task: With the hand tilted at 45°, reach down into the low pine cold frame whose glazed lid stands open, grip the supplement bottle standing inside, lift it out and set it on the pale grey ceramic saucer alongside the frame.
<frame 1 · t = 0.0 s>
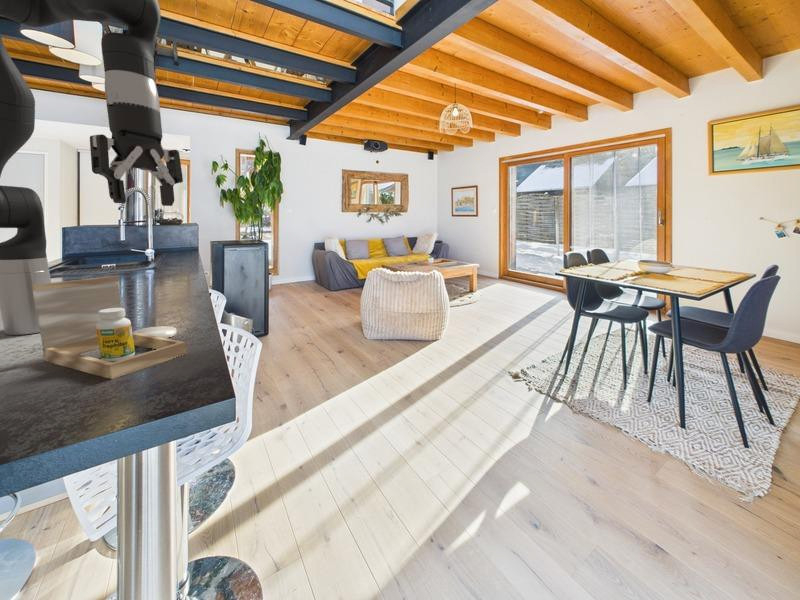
hand: (144, 204, 67), 29 cm above the countertop, tool pointing down, fingers open, 8 cm apart
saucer: (154, 336, 86), on the countertop
supplement bottle: (118, 358, 73), resting in cold frame
cold frame: (118, 357, 72), on the countertop
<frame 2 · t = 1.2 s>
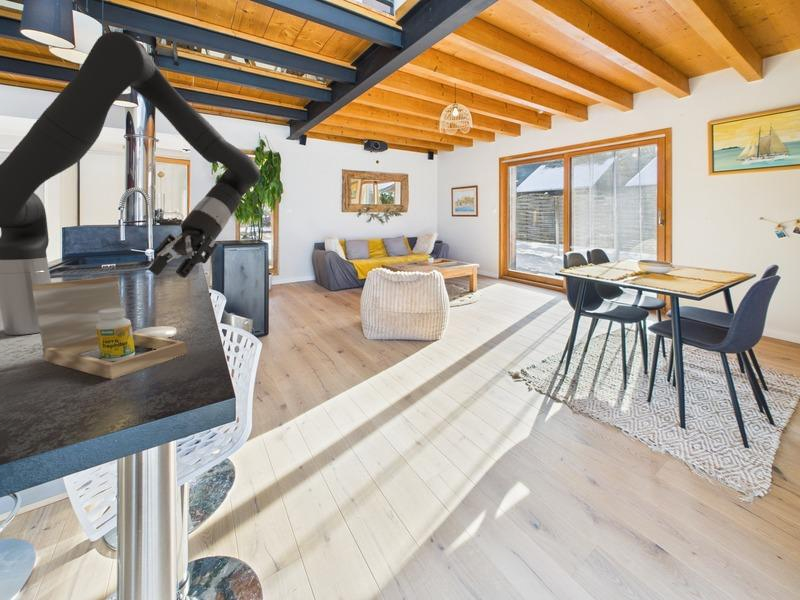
hand: (166, 274, 80), 15 cm above the countertop, tool tilted 45°, fingers open, 8 cm apart
nothing on the countertop moved.
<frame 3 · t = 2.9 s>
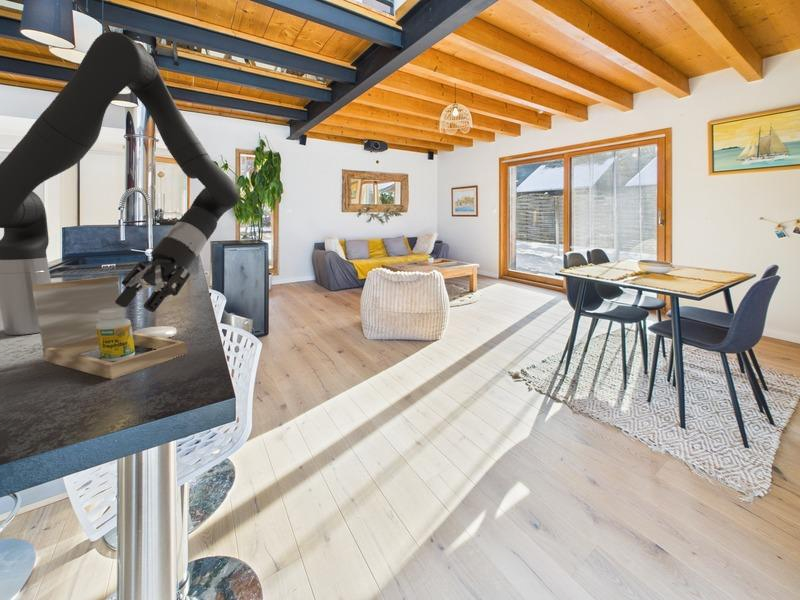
hand: (133, 307, 74), 9 cm above the countertop, tool tilted 45°, fingers open, 8 cm apart
nothing on the countertop moved.
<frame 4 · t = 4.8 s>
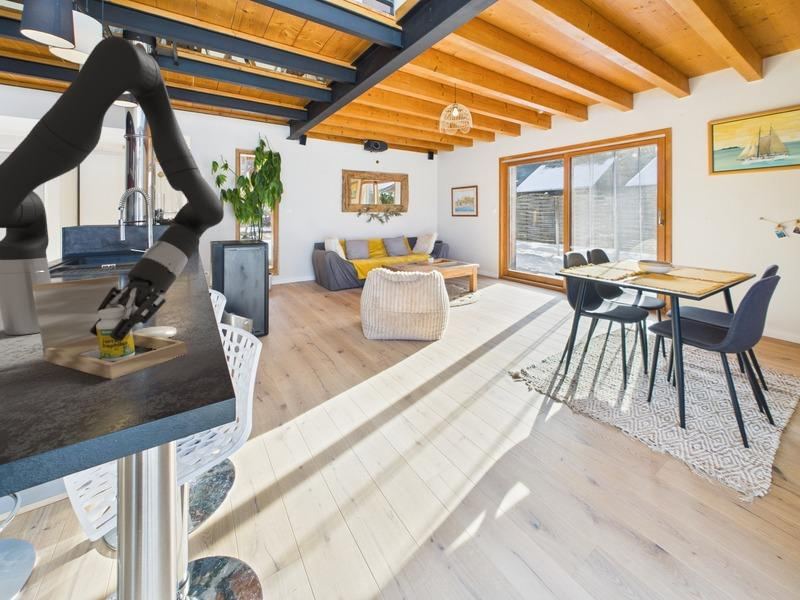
hand: (105, 336, 70), 5 cm above the countertop, tool tilted 45°, fingers closed on supplement bottle, 5 cm apart
supplement bottle: (118, 358, 73), resting in cold frame, touching gripper
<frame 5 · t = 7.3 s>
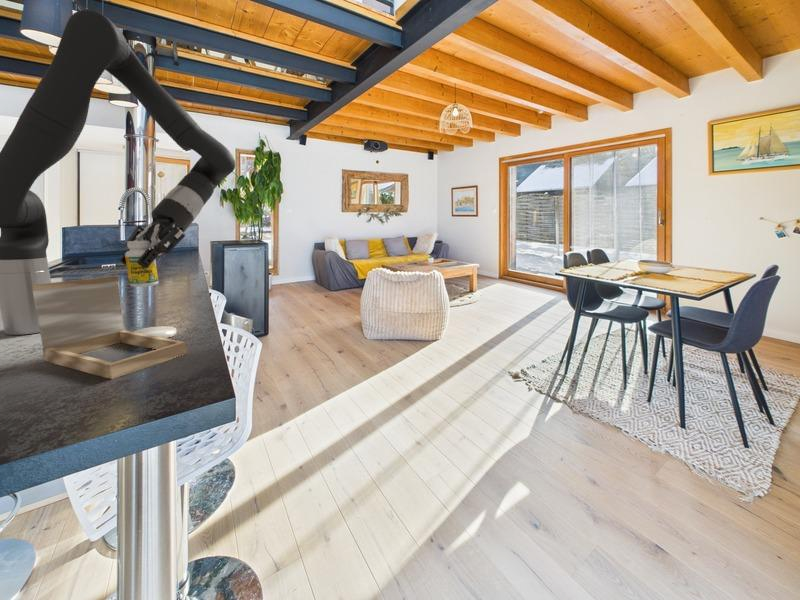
hand: (132, 264, 79), 17 cm above the countertop, tool tilted 45°, fingers closed on supplement bottle, 5 cm apart
supplement bottle: (144, 286, 82), point 12 cm above the countertop, touching gripper
when the fingers open (7 cm above the countertop, at t = 9.9 s): supplement bottle stays where it is, resting on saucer.
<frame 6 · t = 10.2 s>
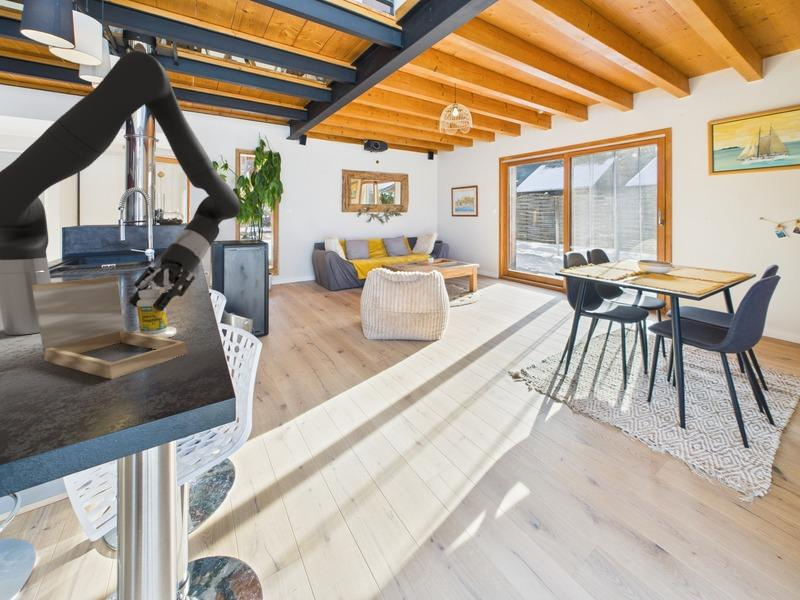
hand: (144, 307, 83), 7 cm above the countertop, tool tilted 45°, fingers open, 8 cm apart
supplement bottle: (154, 332, 86), point 1 cm above the countertop, touching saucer
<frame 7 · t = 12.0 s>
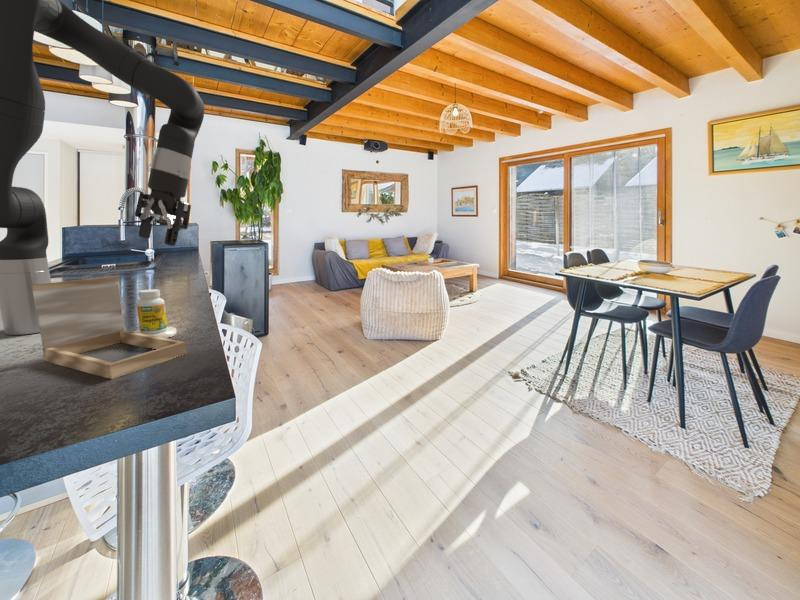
hand: (156, 241, 87), 22 cm above the countertop, tool pointing down, fingers open, 8 cm apart
nothing on the countertop moved.
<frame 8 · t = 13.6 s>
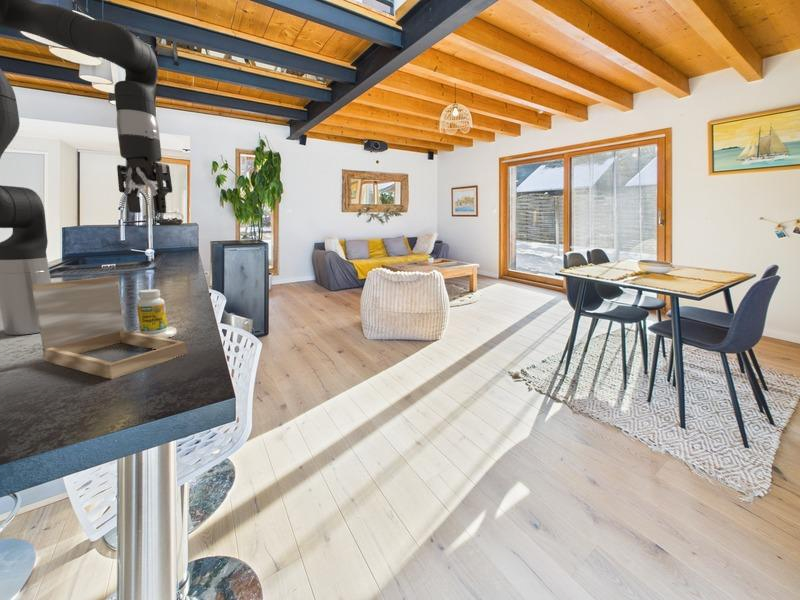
hand: (147, 212, 84), 28 cm above the countertop, tool pointing down, fingers open, 8 cm apart
nothing on the countertop moved.
at the end: supplement bottle 0.2 cm from the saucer (horizontally); supplement bottle tilted 0°; the gripper is holding nothing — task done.
